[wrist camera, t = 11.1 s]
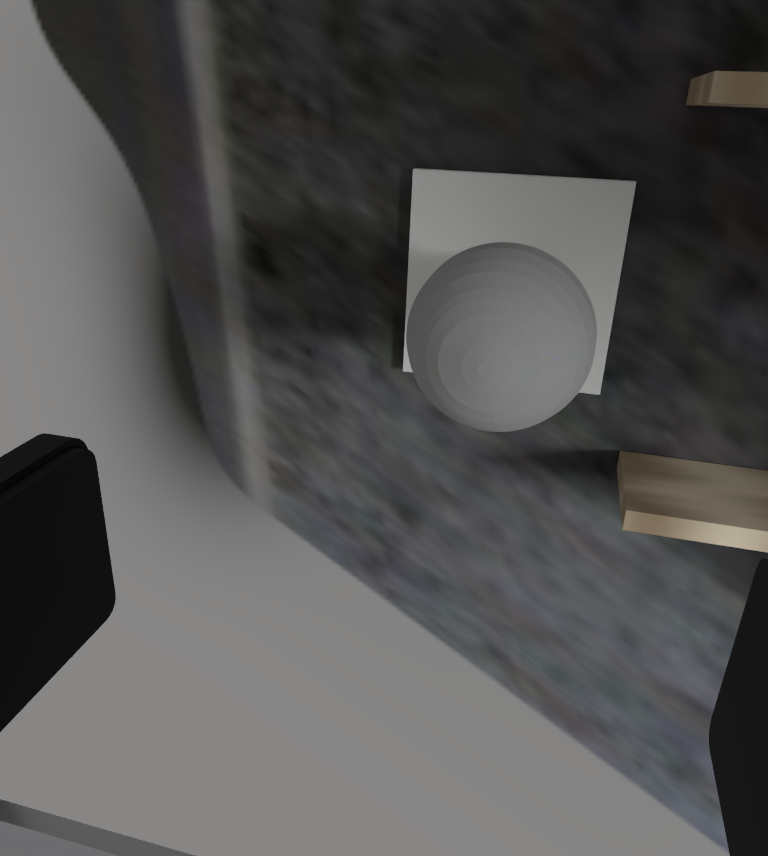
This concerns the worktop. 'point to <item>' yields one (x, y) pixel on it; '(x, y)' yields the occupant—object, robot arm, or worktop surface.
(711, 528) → the u-shaped wooden frame
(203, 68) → the worktop surface
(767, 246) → the worktop surface
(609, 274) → the grey pad
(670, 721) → the worktop surface
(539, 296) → the light bulb
